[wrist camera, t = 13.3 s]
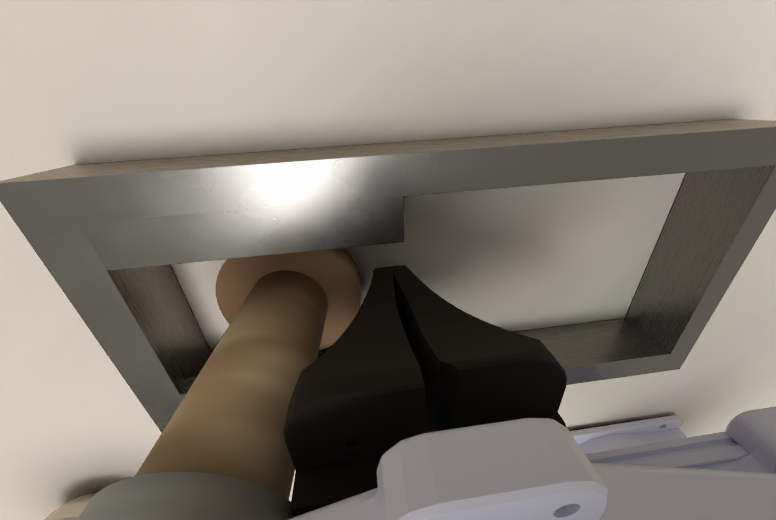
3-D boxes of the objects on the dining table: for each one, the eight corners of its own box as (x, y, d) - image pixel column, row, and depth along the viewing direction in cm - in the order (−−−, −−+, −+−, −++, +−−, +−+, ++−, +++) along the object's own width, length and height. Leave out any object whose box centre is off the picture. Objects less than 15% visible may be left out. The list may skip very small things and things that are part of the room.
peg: (361, 229, 11) (342, 496, 4) (361, 337, 14) (349, 622, 6) (212, 226, 11) (-147, 514, 3) (241, 337, 14) (76, 640, 6)
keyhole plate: (732, 119, 12) (827, 122, 9) (634, 332, 17) (679, 368, 14) (73, 164, 10) (-12, 183, 7) (195, 388, 15) (167, 440, 13)
